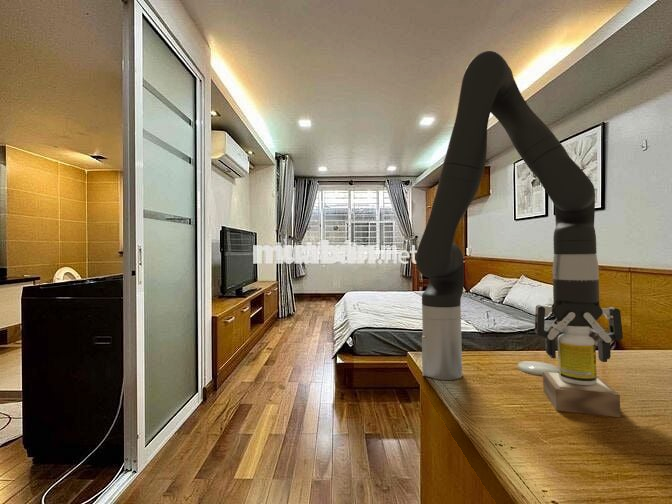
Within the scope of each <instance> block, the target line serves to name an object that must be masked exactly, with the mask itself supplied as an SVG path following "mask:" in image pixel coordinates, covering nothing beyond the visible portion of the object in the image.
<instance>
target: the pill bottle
mask: <svg viewBox="0 0 672 504" xmlns="http://www.w3.org/2000/svg"><path fill="white" fill-rule="evenodd" d="M561 332H562V334H560V335H558V336H557V361H558V362H557V363H558V366H557V367H558V368H559V377H560V379H561V380H563V381H565V382H567V383H571V384H576V385H586V386H588V385H594V384H595V383H596V382H597V353H596V346H597V345H596V341H595V339H594V338H593V337H592V336H590V334H591V329H590V327H589V326H566V327H565V328H564V329H563V330H562V331H561Z"/></svg>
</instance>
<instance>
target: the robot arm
mask: <svg viewBox="0 0 672 504" xmlns="http://www.w3.org/2000/svg"><path fill="white" fill-rule="evenodd" d="M508 64H509V63H507V61H506V59H505V58H504V57H503V56H502V55H500V53H497V52H496V51H492V50H486V51H483V52H480V53H478V54H477V55H475V57H473V58H472V59H471V61H470V62H469V63H468V64H467V67H466V68H465V70H464V73H463V76H462V80H461V86H460V92H459V98H458V103H457V105H458V106H457V111H456V116H455V119H454V124H453V128H452V132H451V134H450V138H449V142H448V146H447V150H446V153H445V155H444V160H443V163H442V168H441V171H440V174H439V179H438V183H437V188H436V192H435V196H434V200H433V203H432V205H431V210H430V215H429V216H428V217H429V218H428V220H427V224H426V225H425V228H424V232H423V233H422V236H421V239H420V242H419V245H418V247H417V250H416V254H415V265H416V268H417V270H418V272H419V273H420V274H421V276H424V277H426V278H428V285H427V287H426V289H425V290H424V291H423V292H422V295H421V313H422V316H421V317H422V318H421V319H422V335H421V360H422V361H421V364H422V365H421V368H422V376H423V377H429V378H431V379H434V380H435V379H436V380H442V381H452V380H458V379H461V378H462V377H463V354H462V351H463V350H462V349H463V348H462V313H461V312H462V307H461V301H462V300H461V299H462V295H463V292H464V282H465V281H464V278H465V277H464V275H465V270H464V269H465V265H464V264H465V263H464V261H465V260H464V255H463V252H462V250H461V248H460V246H458V245H457V244H456V243H454V240H455V236H456V231H457V229H458V225H459V223H460V221H461V219H462V217H463V216H464V214H465V213H466V211H467V210H468V208H469V206H470V205H471V204H472V202H473V201H474V199H475V196H476V195H477V192H478V190H479V187H480V186H481V185H480V184H481V182H482V177H483V174H484V170H485V167H486V162H487V161H486V160H487V152H488V125H489V124H488V123H489V119H490V115H491V114H492V115H493V116H494V117H495V119H496V120H497V121H498V122H499V124H500V125H501V126H502V127H503V129H504V130H505V132H506V134H507V136H508V137H509V139H510V141H511V143H512V145H513V147H514V148H515V150H516V152H517V153H518V155H519V156H520V157H521V159H522V161H524V163H525V164H526V166H527V167H528V169H529V171H530V172H531V173H532V174H533V175H534V176H535V177H537V179H538V181H539V183H540V184H541V186H542V187H543V189H544V191H545V192H546V194H547V196H548V197H549V199H550V200H551V202H552V203H553V205H554V212H555V213H554V214H555V215H554V216H555V217H554V218H555V229H554V230H553V231H554V232H553V261H552V272H551V276H552V289H553V290H552V291H553V292H552V293H553V294H552V295H553V301H552V302H553V303H552V305H551V306H545V305H541V304H536V306H535V311H534V312H535V315H534V318H535V319H534V332H535V333H536V334H537V336H539V337H543V338H544V339H545V340H544V342H545V344H544V345H545V348H544V349H545V352H546V354H547V355H548V356H549V358H551V359H556V358H557V353H556V352H557V350H556V347H557V346H556V345H557V344H556V340H555V338H557V337H558V336H559V334H560V333H562V332H563V331H562V330H563V329H564V328H565V327H566V326H589V327H590V331H593V333H594V334H595V335H596V336H597V337H598V339H599V340H597V348H598V350H597V355H598V356H597V357H598V360H599V361H600V362H602V363H607V362H608V360H610V359H611V356H612V355H611V343H612V342H613V341H621V340H623V339H624V334H623V325H622V323H623V322H622V315H621V309H619V308H617V307H614V306H608V307H606V308H605V307H601V306H600V278H599V277H600V275H599V274H600V271H599V270H600V269H599V267H600V266H599V261H598V256H597V234H596V229H595V213H596V209H595V208H596V189H595V186H594V184H593V181H592V180H591V179H590V177H588V176H587V174H586V173H585V172H584V170H583V169H581V167H580V166H579V165H578V164H577V163H576V162H575V160H573V159H572V158H571V157H570V155H569V153H568V152H567V150H566V148H565V147H564V146H563V144H562V143H561V141H560V140H559V138H557V137H556V134H554V133H553V131H552V130H551V129H550V128H549V127H548V126H547V124H545V122H543V120H542V119H541V118H540V117H539V116H538V115H537V114H536V113H535V112H534V111H533V110H532V109H531V107H530V106H529V104H528V103H527V102H526V100H525V98H524V97H523V95H522V93H521V91H520V89H519V87H518V85H517V83H516V80H515V78H514V74H513V71H512V69H511V67H510V66H509V65H508ZM551 313H552V315H553V316H554V317H555V319H554V320H553V321H552V323H551V324H550V326H549V327H548V328H547V330H546V329H545V323H546V321H545V320H546V319H545V318H547V317H549V314H551ZM602 315H604V317H605V318H606V319H607V320H608V330H609V332H606V331H605V329H604V328H603V327H602V326H601V325H600V324H599V323H598V320H599V319H600V317H602Z"/></svg>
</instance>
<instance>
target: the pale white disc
mask: <svg viewBox="0 0 672 504" xmlns="http://www.w3.org/2000/svg"><path fill="white" fill-rule="evenodd" d="M517 369H518V370H519V371H521V372H524V373H527V374H530V375H536V376H542V377H543V372H551V373H559V368H558V366H555V365H554V364H551V363H548V362H541V361H535V360H534V361H532V360H530V361H529V360H527V361H525V360H524V361H520V362H518V364H517Z"/></svg>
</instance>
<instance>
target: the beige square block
mask: <svg viewBox="0 0 672 504" xmlns="http://www.w3.org/2000/svg"><path fill="white" fill-rule="evenodd" d="M542 382H543V383H542V385H543V389H542V390H543V392H544V394H545V396H546V397H547V399H548V400H549V401H550V403H551V405H552V406H553V407H554V409H555V410H556V412H557V411H558V412H560V411H561V412H567V413H577V414H584V415H585V414H587V415H595V416H605V417H614V418H621V395H620V393H618V392H617V391H616V390H614V389H613V387H611V386H610V385H609V384H607V383H606V382H605V381H604V380H603V379H602V378H600V377H599V376H597V382H596V383H595V384H594V385H588V386H586V385H576V384H571V383H567V382H565V381H563V380H561V379H560V377H559V373H551V372H543V376H542Z"/></svg>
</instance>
